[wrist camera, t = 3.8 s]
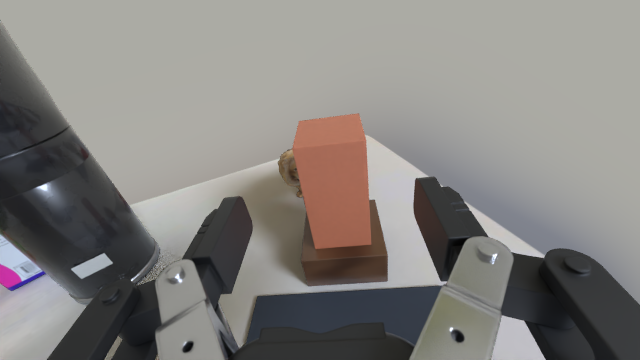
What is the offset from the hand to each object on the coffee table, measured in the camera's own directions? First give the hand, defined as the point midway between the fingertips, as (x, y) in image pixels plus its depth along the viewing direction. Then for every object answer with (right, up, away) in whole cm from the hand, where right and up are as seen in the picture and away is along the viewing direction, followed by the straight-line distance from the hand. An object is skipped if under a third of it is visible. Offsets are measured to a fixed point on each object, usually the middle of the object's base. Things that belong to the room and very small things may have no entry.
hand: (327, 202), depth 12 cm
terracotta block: (+2, -4, +15) cm, 16 cm away
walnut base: (+2, -7, +17) cm, 19 cm away
